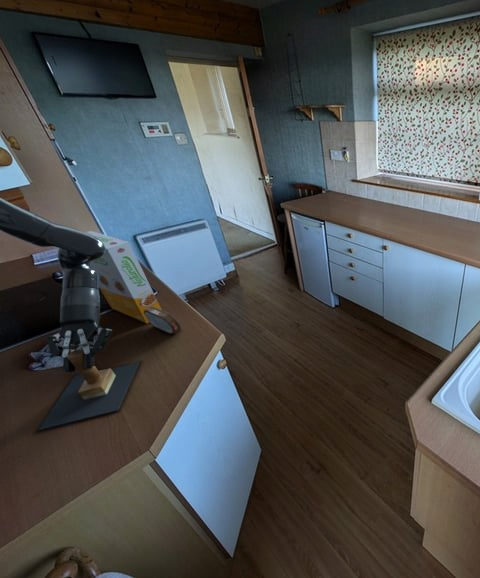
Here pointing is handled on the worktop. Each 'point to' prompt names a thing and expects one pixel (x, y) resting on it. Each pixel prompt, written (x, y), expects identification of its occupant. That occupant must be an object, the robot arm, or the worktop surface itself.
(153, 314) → the tin
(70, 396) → the mat
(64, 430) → the worktop surface
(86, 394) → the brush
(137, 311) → the cereal box
